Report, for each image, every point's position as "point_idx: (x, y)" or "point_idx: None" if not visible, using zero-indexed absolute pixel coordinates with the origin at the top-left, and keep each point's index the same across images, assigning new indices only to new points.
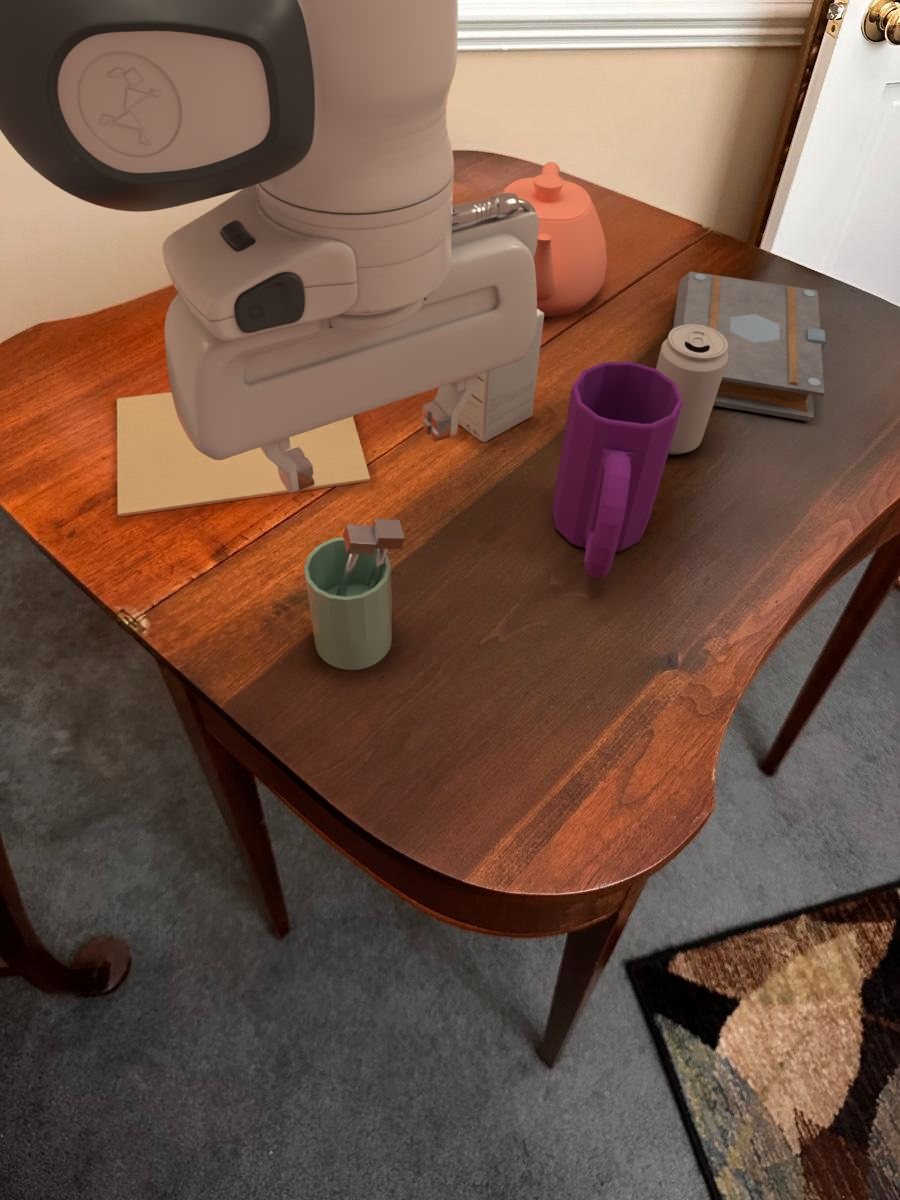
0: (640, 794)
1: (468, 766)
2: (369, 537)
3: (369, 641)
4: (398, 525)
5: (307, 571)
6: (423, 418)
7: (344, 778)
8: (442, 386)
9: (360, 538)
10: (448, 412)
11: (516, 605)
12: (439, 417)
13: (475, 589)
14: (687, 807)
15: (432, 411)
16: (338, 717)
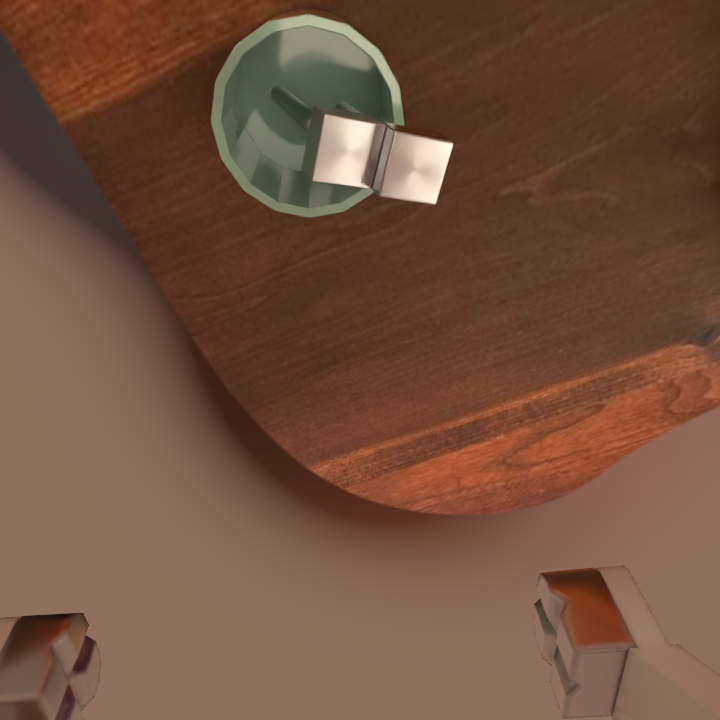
0: (530, 461)
1: (372, 363)
2: (362, 166)
3: None
4: (441, 163)
5: (220, 96)
6: (557, 594)
7: (214, 318)
8: (690, 704)
9: (339, 169)
10: (621, 717)
11: (600, 145)
12: (581, 712)
13: (564, 76)
14: (562, 487)
15: (581, 683)
16: (235, 228)
